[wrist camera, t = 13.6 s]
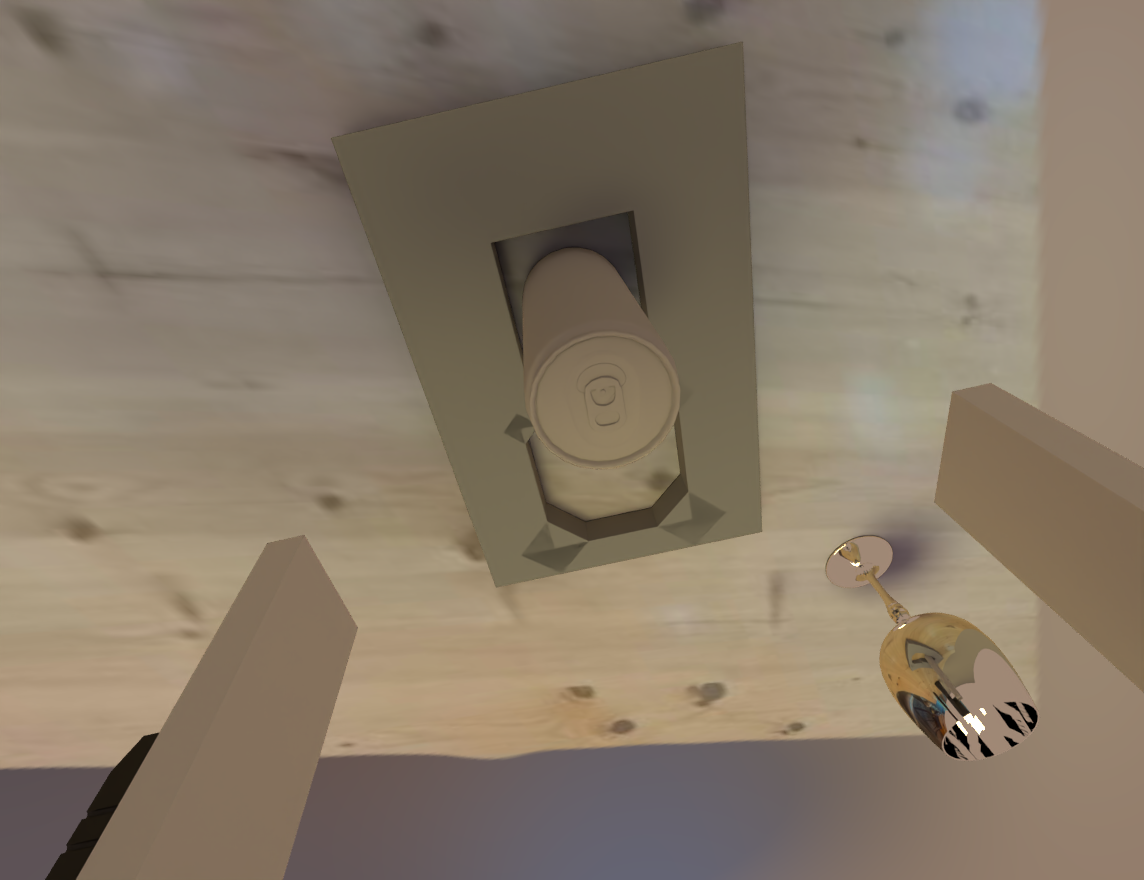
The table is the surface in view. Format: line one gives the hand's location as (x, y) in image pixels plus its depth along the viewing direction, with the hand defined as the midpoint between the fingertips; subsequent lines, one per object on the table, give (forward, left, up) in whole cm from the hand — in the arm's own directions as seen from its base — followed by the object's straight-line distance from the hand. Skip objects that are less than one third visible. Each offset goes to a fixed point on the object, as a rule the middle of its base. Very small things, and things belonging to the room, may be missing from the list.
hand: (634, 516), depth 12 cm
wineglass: (+22, +15, -18) cm, 32 cm away
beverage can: (0, 0, -18) cm, 18 cm away
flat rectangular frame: (+4, 0, -18) cm, 18 cm away
